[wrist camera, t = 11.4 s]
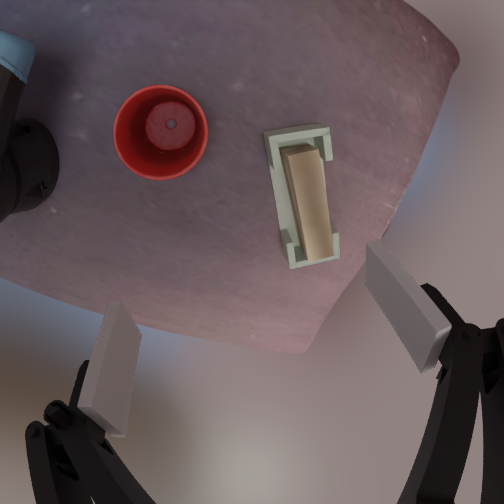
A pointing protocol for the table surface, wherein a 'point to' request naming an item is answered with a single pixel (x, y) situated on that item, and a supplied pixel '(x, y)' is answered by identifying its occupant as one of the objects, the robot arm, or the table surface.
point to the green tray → (273, 140)
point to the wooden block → (308, 199)
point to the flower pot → (160, 132)
